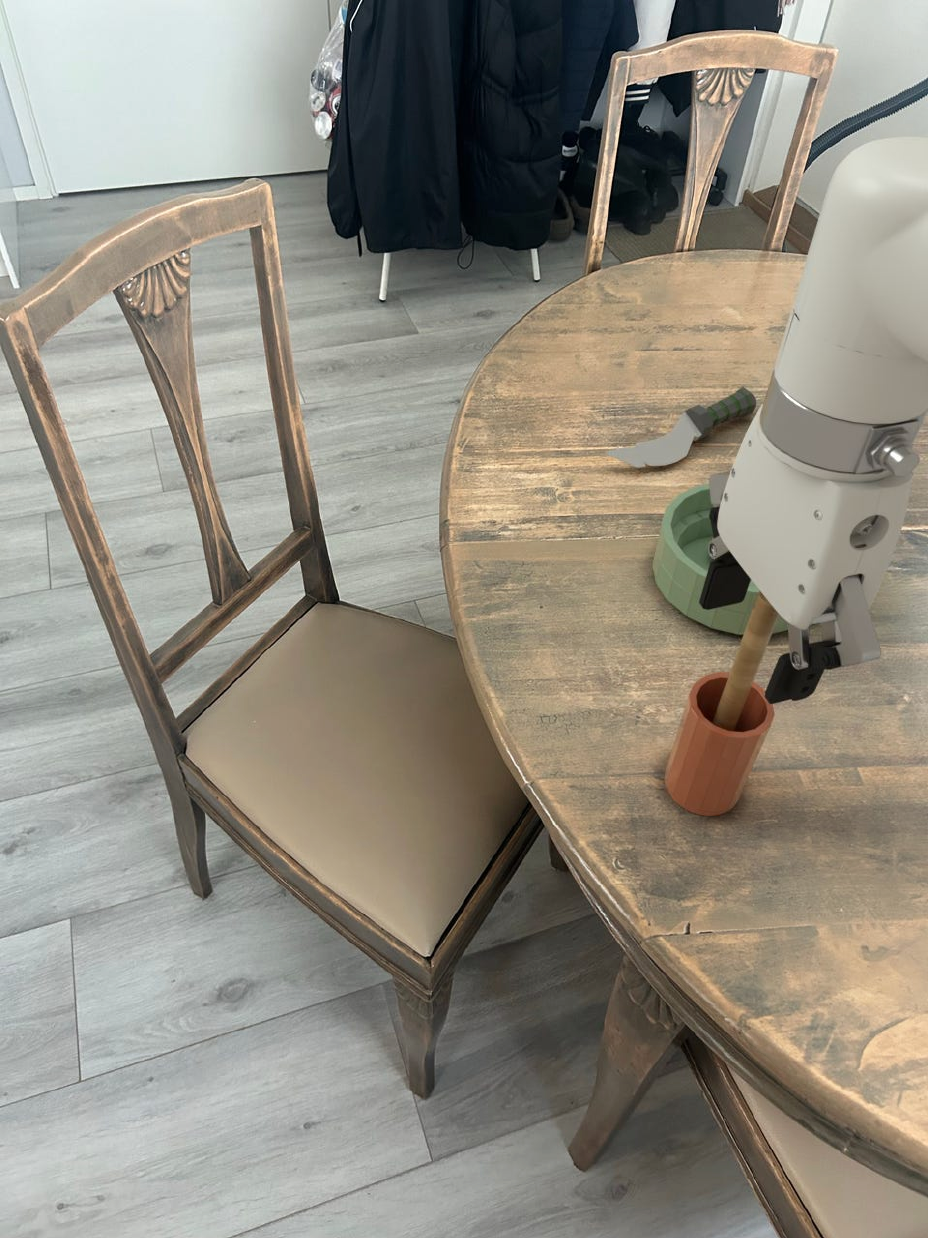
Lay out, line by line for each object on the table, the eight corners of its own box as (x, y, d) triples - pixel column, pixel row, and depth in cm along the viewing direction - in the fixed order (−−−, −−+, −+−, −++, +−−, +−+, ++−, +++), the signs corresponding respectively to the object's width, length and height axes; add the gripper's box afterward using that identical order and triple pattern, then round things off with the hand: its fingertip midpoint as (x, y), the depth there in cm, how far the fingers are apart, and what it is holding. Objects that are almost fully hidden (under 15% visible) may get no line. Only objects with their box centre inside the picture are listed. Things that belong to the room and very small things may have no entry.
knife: (636, 474, 92) (609, 437, 93) (619, 494, 96) (594, 458, 97) (777, 408, 102) (752, 374, 103) (756, 428, 105) (732, 396, 106)
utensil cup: (753, 805, 67) (790, 726, 60) (685, 824, 66) (714, 746, 59) (717, 746, 71) (747, 665, 64) (652, 763, 70) (675, 682, 63)
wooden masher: (724, 792, 67) (799, 609, 53) (701, 798, 67) (770, 615, 52) (705, 761, 69) (773, 576, 55) (683, 767, 69) (745, 582, 54)
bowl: (849, 619, 81) (872, 572, 77) (699, 655, 78) (713, 607, 74) (762, 517, 92) (777, 470, 87) (625, 544, 88) (635, 497, 84)
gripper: (1022, 505, 40) (883, 738, 52) (808, 325, 51) (736, 551, 64) (880, 535, 38) (772, 768, 51) (692, 343, 49) (642, 571, 62)
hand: (752, 646), depth 57 cm, fingers open, 7 cm apart
